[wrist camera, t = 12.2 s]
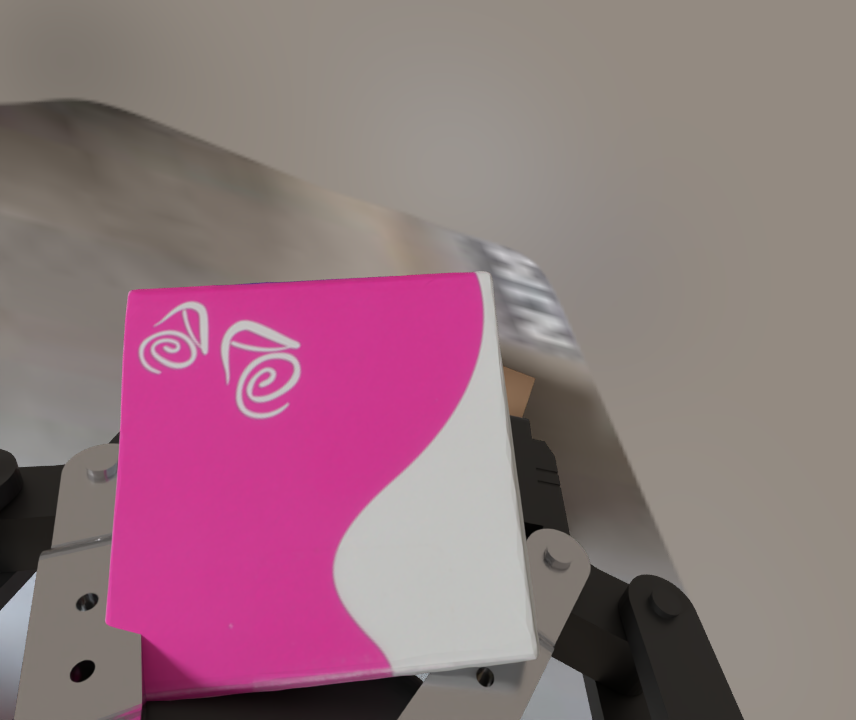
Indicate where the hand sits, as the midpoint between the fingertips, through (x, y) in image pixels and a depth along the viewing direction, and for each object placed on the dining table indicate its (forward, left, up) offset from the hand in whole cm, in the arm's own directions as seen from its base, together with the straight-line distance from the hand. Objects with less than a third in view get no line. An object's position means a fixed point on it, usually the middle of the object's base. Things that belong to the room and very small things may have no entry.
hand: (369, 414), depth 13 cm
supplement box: (-1, -1, -5) cm, 5 cm away
